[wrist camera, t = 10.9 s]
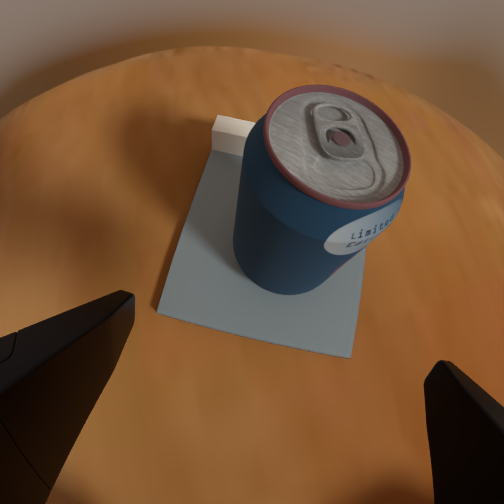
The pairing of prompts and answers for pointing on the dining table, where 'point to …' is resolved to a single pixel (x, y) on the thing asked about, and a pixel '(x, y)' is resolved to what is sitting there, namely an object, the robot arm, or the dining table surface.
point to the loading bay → (234, 279)
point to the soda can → (316, 186)
